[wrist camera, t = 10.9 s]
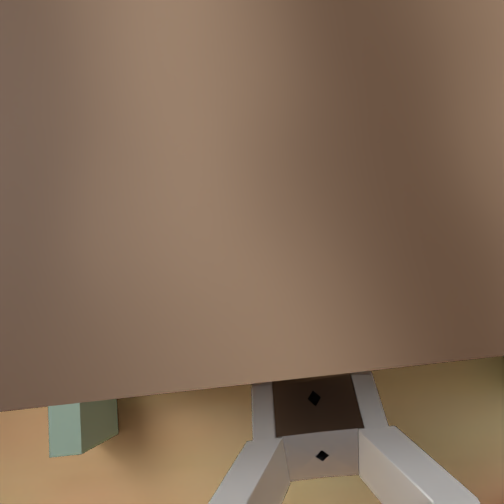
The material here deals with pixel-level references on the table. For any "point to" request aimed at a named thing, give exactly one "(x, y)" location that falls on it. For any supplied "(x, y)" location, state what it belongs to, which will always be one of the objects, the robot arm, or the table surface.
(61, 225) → the walnut block
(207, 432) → the table surface
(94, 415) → the green bay
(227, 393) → the table surface
